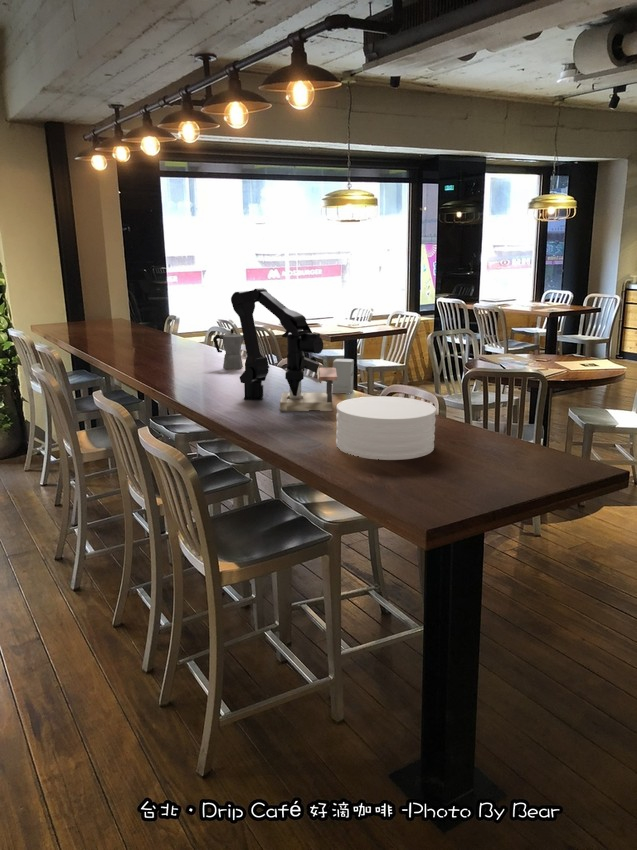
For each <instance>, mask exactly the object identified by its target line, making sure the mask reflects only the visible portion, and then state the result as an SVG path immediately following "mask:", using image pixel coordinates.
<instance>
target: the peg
mask: <svg viewBox="0 0 637 850" xmlns="http://www.w3.org/2000/svg"><path fill="white" fill-rule="evenodd" d="M289 393H290V399H301V393H302V380H301V381H300V382H299V386H298V391H297V396H293V393H292V391H291V389H290V388H289Z"/></svg>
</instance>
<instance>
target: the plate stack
mask: <svg viewBox="0 0 637 850" xmlns="http://www.w3.org/2000/svg"><path fill="white" fill-rule="evenodd" d="M436 414H437V408H436V406H434V405H433V404H431V403H429V402H426V401H424V400H420V399H415V398H409V397H401V396H382V395H381V396H380V395H379V396H378V395H377V396H362V397H360V396H359V397H353V398H348V399H345V400H342V401H340V402H339V403H337V404H336V416H335V417H336V426H335V427H336V430H335V431H336V433H335V437H336V439H335V446H336V448H337V447H338V448H339V449H340V450H339V449H338V448H337V449H338V450H339V451H341V452H343V453H345V454H347V453H348V454H347V455H350V454H351V455H350V456H353V455H354V456H355V457H357V456H359V457H358V458H363V459H370V460H378V459H379V460H383V461H384V460H385V461H398V460H399V461H400V460H410V459H417V458H421V457H424V456H427V455H429V454H431V453H432V452H433V451H434V449H435V442H434V441H435V437H436V436H435V432H436V426H435V424H436V421H437V420H436Z"/></svg>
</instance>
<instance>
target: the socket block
mask: <svg viewBox="0 0 637 850" xmlns="http://www.w3.org/2000/svg"><path fill="white" fill-rule="evenodd" d="M318 379H319V381H318V382H319V384H322V381H326V392H301V399H290V392H282V393H281V398H280V403H279V407H280V408H279V409H280V410H279V411H280V412H290V411H291V412H310V411H309V410H320V411H319V412H333V393H332V386H333V380H337V373H336V368H333V367H318Z"/></svg>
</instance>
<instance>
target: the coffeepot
mask: <svg viewBox="0 0 637 850" xmlns="http://www.w3.org/2000/svg"><path fill="white" fill-rule="evenodd" d="M234 330H235V329H233V328H232V329H230V333H227V334H215V335H214V337H213V338H212V341H213V344H214V346H215V348H216V352H217V353H220V354H221V353H223V350H221V349H220V346H219V343H218V340H222V344H223V349H224V350H225V353H224V359H223V365H222V368H223V370H224V369H225V370H229V369H236V370H241V368H242V367H244V364H243V360H242V355H241V350H242V344H243V343H244V337H243V334H237V333H235V331H234ZM242 369H243V368H242Z"/></svg>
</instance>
